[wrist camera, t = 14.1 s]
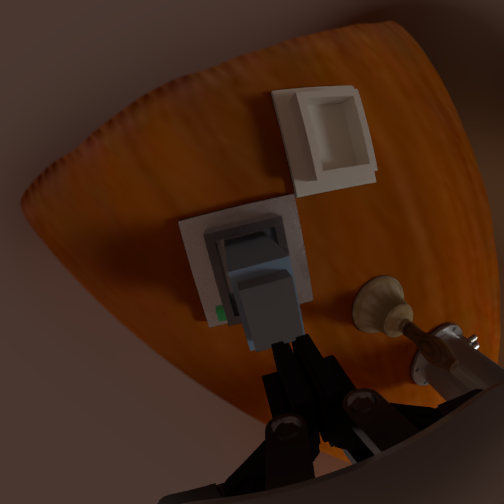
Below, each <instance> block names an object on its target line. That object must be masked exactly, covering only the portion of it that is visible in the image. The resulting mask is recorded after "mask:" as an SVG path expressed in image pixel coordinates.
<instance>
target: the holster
mask: <svg viewBox="0 0 504 504" xmlns="http://www.w3.org/2000/svg"><path fill="white" fill-rule="evenodd" d="M271 96H272V100H273V104H274V108H275V111H276V115H277V119H278V123H279V127H280V131H281V135H282V139H283V144H284V148H285V152H286V156H287V161H288V165H289V169H290V174H291V178H292V183H293V188H294V192H295V197H302V196H307V195H312V194H317V193H322V192H327V191H332V190H337V189H342V188H347V187H352V186H358V185H363V184H369V183H374V182H376V178H375V173H374V171H377V165H376V160H375V155H374V150H373V145H372V141H371V137H370V133H369V128H368V124H367V121H366V117H365V113H364V109H363V106H362V102H361V99H360V96H359V92H358V89H354V88H353V86H323V87H307V88H295V89H285V90H277V91H272V92H271Z"/></svg>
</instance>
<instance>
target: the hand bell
mask: <svg viewBox="0 0 504 504" xmlns="http://www.w3.org/2000/svg"><path fill="white" fill-rule="evenodd" d="M352 317H353V320H354V323H355V325H356V326H357V327H358V328H359V329H360V330H361V331H364V332H367V333H376V332H380V331H381V332H383V333H384V334H386V335H387V336H389V337H398V336H400V335H402V334H403V335H405V336H406V337H408V338H409V339H410V340H412V341H413V342H414V343H415V344H416V345H417V347H418V349H419V351H420V353H421V354H422V355H423V357H424V358H425V359H426V360H427V361H428V362H429V363H430V364H432V365H433V366H435V367H438V368H441V369H444V370H447V371H449V372H453V371H455V370H456V369H457V367H458V365H459V361H458V360H457V358H456V357H455V355H454V353H453V351H452V349H451V348H450V346H449V345H448V344H447V343H446V342H445V341H443V340H442V339H440V338H439V337H437V336H435V335H432V334H428V333H425V332H423V331H422V330H421V329H419V328H418V327H417V326H416V325H415V324H414V323H413V322H412V319H413V311H412V309H411V307H410V306H409V305H408V304H407V303H406V302H405V301H404V294H403V289H402V287H401V285H400V283H399V282H398V281H397V280H396V279H395V278H393V277H391V276H379V277H376V278H374V279H372V280H371V281H369V282H368V283H367V284H366V285H364V287H363V288H362V289H361V290H360V291H359V293H358V294H357V296H356V299H355V301H354V304H353V310H352Z"/></svg>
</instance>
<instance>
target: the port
mask: <svg viewBox="0 0 504 504" xmlns="http://www.w3.org/2000/svg"><path fill="white" fill-rule="evenodd" d="M178 223H179V227H180V231H181V235H182V238H183V242H184V246H185V249H186V253H187V256H188V260H189V263H190V267H191V270H192V274H193V277H194V280H195V284H196V287H197V290H198V293H199V297H200V300H201V303H202V306H203V309H204V312H205V315H206V318H207V321H208V324H209V327H213V326H218V325H222V324H226V323H228V325H229V326H231V325H235V324H239V323H242V321H241V318H240V314H239V311H238V307H237V304H236V300H235V297H234V293H233V290H232V286H231V283H230V279H229V276H228V271H227V263H226V254H225V245H224V241H225V240H229V239H233V238H237V237H241V236H245V235H248V234H252V233H256V232H260V231H263V232H264V233H265V234H266V235H268V236H269V237H270V238H271V239H272V240H273V241H274V242H275V243H276V244H277V245H278V246H280V247H281V248H282V249H283V250H284V251H285V252H286V253H287V254H288V255H289V256H290V260H291V265H292V269H293V274H294V279H295V284H296V290H297V295H298V300H299V304H302V303H306V302H309V301H312V300H313V295H312V289H311V283H310V277H309V271H308V265H307V259H306V253H305V248H304V242H303V237H302V232H301V226H300V221H299V216H298V211H297V206H296V201H295V197H294V194H286V195H282V196H277V197H273V198H268V199H264V200H259V201H255V202H251V203H246V204H242V205H238V206H234V207H230V208H226V209H222V210H217V211H214V212H210V213H206V214H202V215H198V216H194V217H190V218H186V219H183V220H180V221H178Z"/></svg>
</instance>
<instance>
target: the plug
mask: <svg viewBox="0 0 504 504" xmlns="http://www.w3.org/2000/svg"><path fill="white" fill-rule="evenodd" d="M224 245H225V254H226V263H227V271H228V276H229V279H230V283H231V286H232V290H233V293H234V297H235V300H236V304H237V307H238V311H239V314H240V318H241V321H242V324H243V328H244V331H245V334H246V338H247V341H248V344H249V348H250V351H252V350H256V352H258V351H262V350H266V349H269V348H272V347H271V344H273V343H277V342H281V341H283V342H284V344H285V343H290V342H292V341H296V337H298V336H301V335H305V332H304V327H303V321H302V316H301V310H300V305H299V300H298V295H297V290H296V284H295V279H294V274H293V269H292V265H291V260H290V256H289V255H288V254H287V253H286V252H285V251H284V250H283V249H282V248H281V247H280V246H278V245H277V244H276V243H275V242H274V241H273V240H272V239H271V238H270V237H269V236H268V235H266V234H265V233H264V232H263V231H260V232H256V233H252V234H248V235H245V236H241V237H237V238H233V239H229V240H225V241H224Z"/></svg>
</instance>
